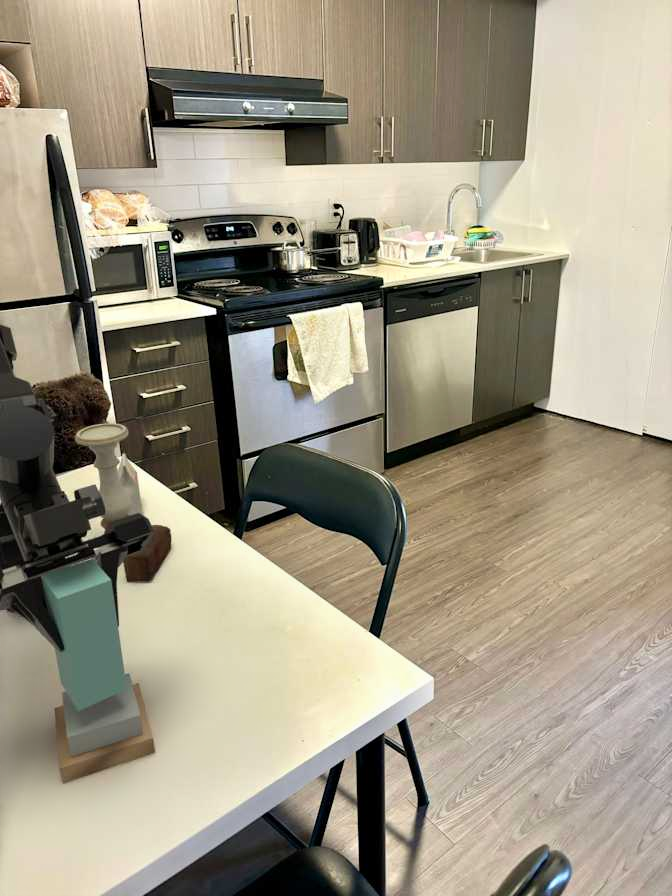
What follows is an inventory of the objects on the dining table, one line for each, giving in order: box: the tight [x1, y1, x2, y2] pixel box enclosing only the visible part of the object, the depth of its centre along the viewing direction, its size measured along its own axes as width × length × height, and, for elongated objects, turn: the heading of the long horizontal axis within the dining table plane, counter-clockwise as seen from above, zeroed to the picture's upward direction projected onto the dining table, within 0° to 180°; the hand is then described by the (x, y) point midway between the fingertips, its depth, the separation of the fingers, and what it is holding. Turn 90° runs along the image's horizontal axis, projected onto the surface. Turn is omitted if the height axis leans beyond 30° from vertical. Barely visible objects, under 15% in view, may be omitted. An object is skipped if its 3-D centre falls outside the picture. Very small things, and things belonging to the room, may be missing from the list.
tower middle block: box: [61, 672, 143, 757], centre depth 71 cm, size 7×7×2 cm
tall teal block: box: [41, 558, 127, 711], centre depth 67 cm, size 5×5×13 cm
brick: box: [122, 524, 172, 583], centre depth 104 cm, size 11×4×5 cm, turn 176°
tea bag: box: [117, 452, 143, 515], centre depth 120 cm, size 4×7×10 cm, turn 17°
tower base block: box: [54, 682, 156, 784], centre depth 72 cm, size 9×9×2 cm
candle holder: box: [74, 422, 132, 562], centre depth 105 cm, size 9×9×20 cm
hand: (90, 639), depth 66 cm, fingers closed on tall teal block, 5 cm apart
